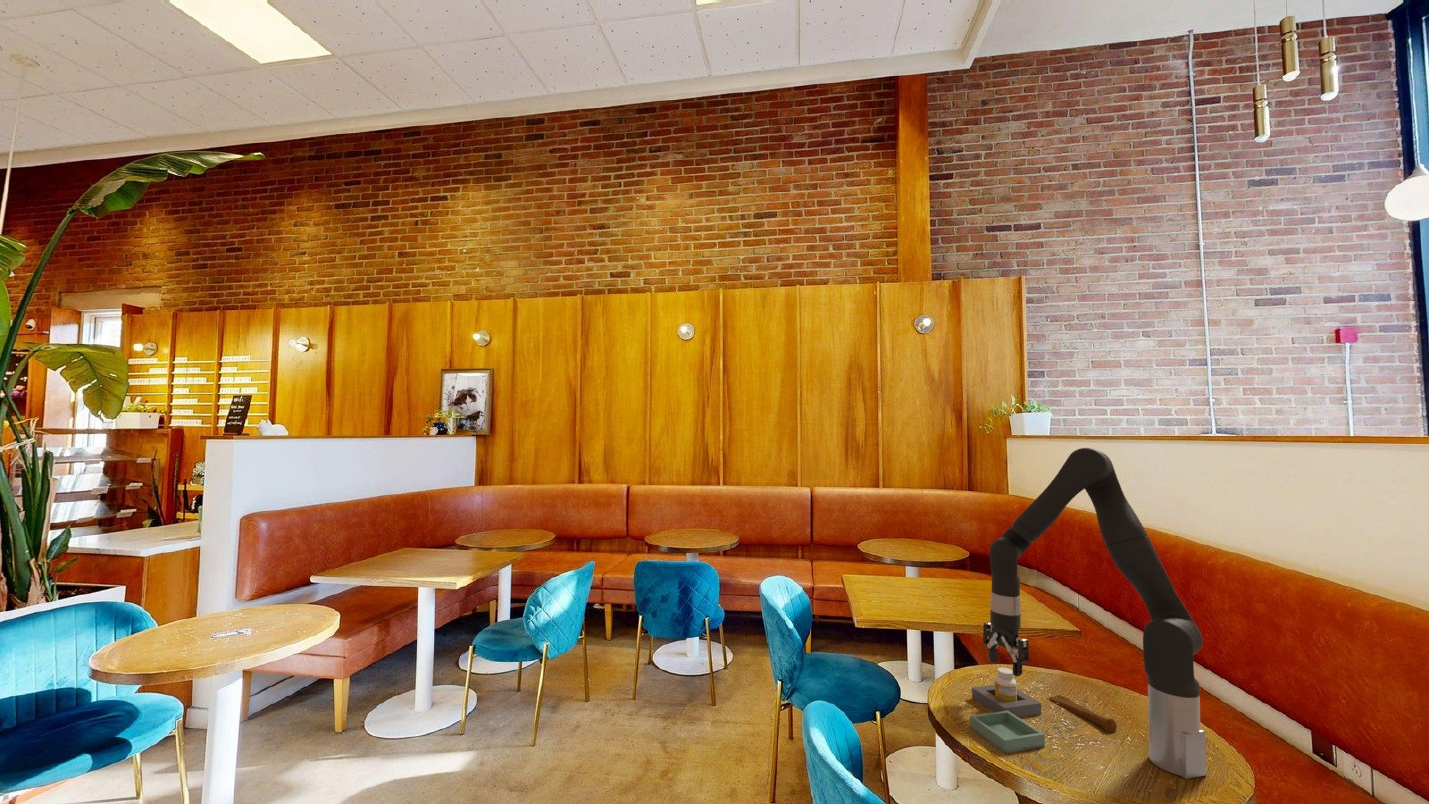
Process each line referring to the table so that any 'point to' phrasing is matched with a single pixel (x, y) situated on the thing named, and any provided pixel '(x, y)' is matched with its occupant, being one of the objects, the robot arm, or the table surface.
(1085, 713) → the primitive tool
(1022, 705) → the socket block
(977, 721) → the tray
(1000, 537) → the robot arm
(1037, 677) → the table surface
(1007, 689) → the supplement bottle
